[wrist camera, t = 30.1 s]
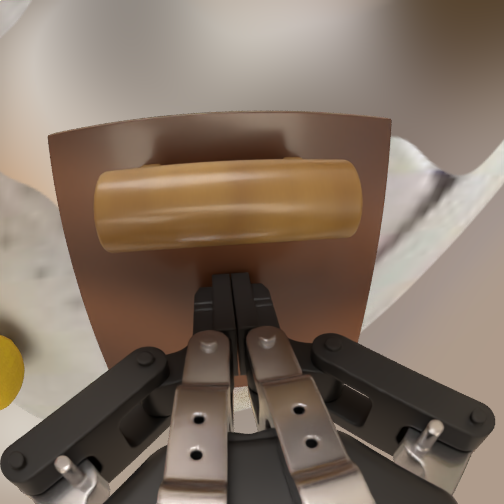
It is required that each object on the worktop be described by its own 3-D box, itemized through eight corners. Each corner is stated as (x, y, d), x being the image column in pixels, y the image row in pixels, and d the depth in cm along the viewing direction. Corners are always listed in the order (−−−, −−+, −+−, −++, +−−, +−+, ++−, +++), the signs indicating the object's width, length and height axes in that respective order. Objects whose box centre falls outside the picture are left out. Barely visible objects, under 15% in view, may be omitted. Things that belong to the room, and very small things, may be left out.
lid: (55, 133, 10) (-36, 166, 5) (382, 117, 12) (481, 141, 7) (119, 380, 16) (103, 466, 11) (345, 362, 18) (381, 441, 13)
